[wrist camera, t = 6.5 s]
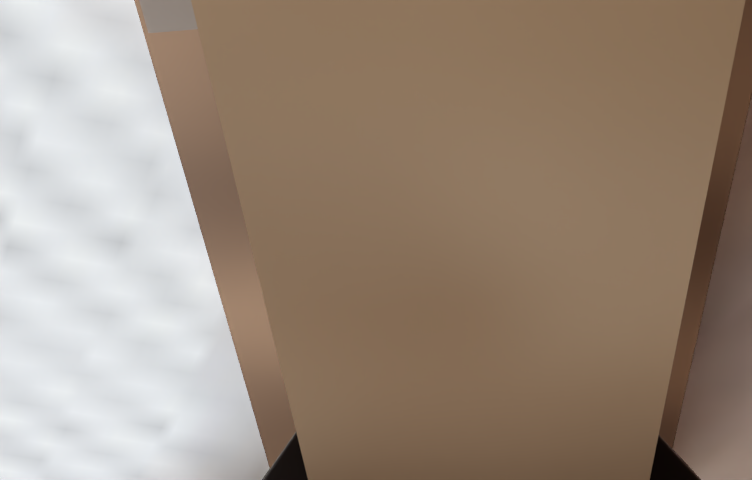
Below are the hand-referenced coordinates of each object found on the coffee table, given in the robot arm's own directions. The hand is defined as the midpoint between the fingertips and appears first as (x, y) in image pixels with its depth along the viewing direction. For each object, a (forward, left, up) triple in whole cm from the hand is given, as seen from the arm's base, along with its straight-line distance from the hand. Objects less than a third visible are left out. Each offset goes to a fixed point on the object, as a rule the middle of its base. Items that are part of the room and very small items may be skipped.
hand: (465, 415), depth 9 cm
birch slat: (0, 0, -2) cm, 2 cm away
